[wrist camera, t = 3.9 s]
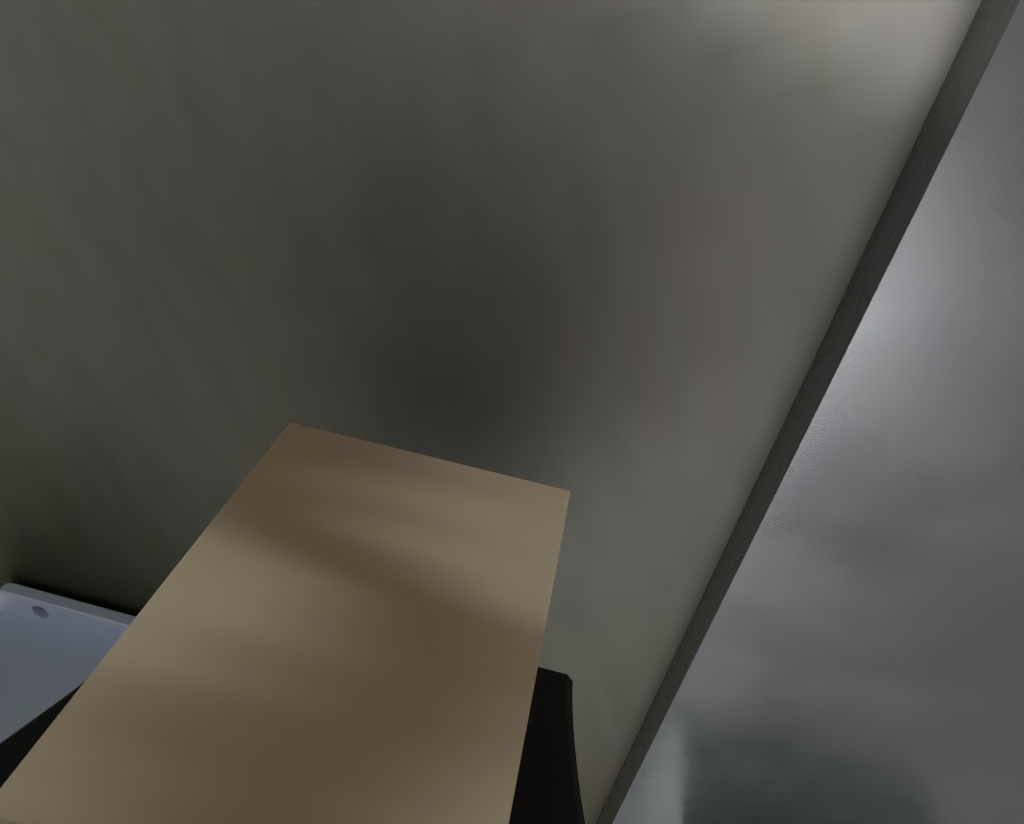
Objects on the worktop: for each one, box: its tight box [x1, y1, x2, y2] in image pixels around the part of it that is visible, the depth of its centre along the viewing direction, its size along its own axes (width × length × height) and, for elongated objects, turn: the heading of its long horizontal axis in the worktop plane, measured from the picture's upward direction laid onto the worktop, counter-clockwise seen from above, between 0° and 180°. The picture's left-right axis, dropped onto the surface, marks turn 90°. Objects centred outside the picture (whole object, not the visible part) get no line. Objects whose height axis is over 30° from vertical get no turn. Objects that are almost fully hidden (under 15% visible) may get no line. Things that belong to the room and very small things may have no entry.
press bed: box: [596, 0, 1024, 824], centre depth 15 cm, size 12×31×6 cm, turn 171°
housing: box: [0, 422, 571, 824], centre depth 10 cm, size 4×6×6 cm
